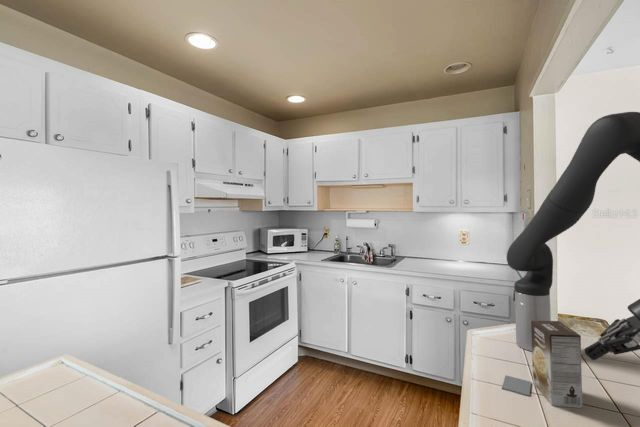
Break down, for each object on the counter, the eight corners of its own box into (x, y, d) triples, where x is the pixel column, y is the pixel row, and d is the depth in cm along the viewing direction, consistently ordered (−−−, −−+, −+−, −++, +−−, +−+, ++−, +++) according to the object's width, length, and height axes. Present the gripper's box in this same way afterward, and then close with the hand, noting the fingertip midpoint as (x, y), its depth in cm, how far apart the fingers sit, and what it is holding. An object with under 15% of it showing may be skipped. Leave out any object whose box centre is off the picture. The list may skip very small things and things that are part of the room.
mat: (505, 376, 80) (505, 375, 80) (531, 382, 76) (531, 381, 76) (502, 388, 74) (502, 387, 74) (529, 396, 71) (529, 395, 71)
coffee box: (531, 383, 76) (529, 319, 76) (560, 385, 75) (558, 320, 75) (551, 406, 67) (549, 333, 67) (585, 409, 66) (582, 335, 66)
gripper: (640, 287, 67) (570, 331, 74) (657, 302, 56) (574, 351, 64) (677, 315, 64) (600, 358, 71) (703, 337, 53) (609, 384, 61)
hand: (588, 355), depth 67 cm, fingers closed
